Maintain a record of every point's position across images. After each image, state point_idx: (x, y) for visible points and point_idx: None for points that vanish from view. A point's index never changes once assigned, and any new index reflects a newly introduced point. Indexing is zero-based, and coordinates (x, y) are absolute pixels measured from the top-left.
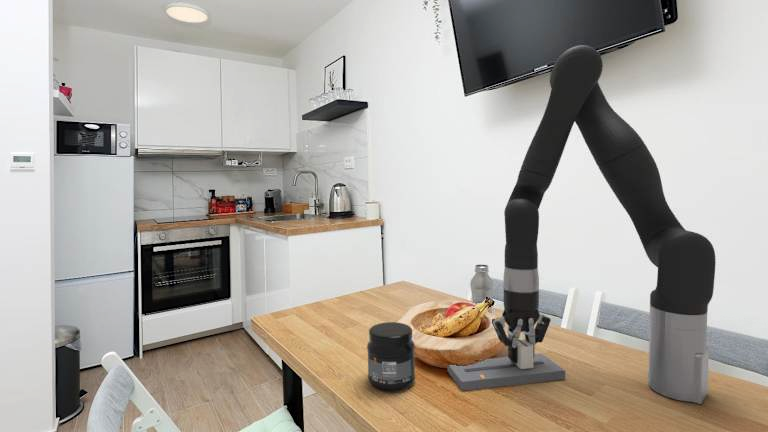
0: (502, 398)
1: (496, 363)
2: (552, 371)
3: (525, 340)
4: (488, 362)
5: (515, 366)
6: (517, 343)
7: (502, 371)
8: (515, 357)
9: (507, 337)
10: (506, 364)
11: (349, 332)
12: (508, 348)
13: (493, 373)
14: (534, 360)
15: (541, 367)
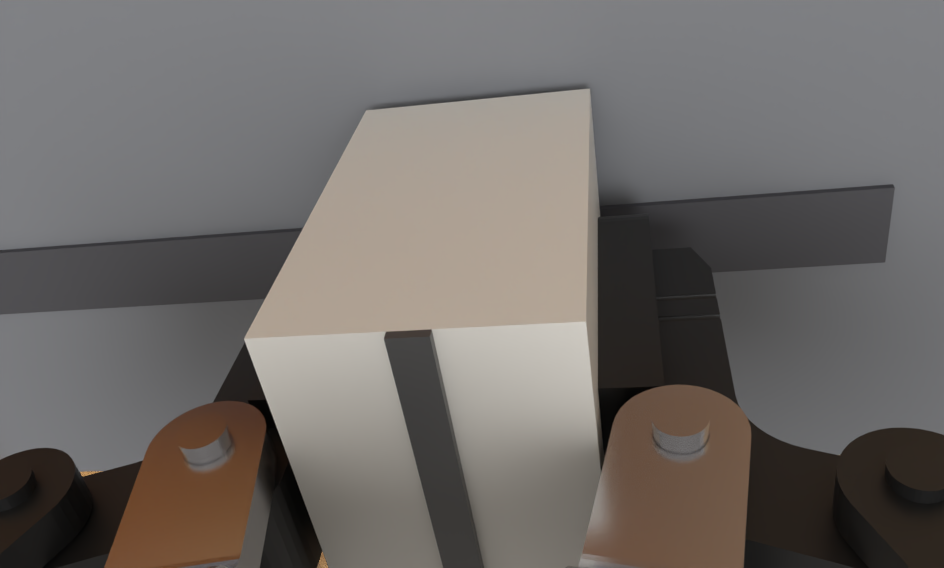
0: None
1: (144, 168)
2: (826, 449)
3: (596, 473)
4: (26, 123)
5: None
6: (353, 556)
7: (197, 369)
8: None
9: (125, 519)
10: (286, 213)
11: None
12: (225, 400)
13: (86, 392)
14: (794, 141)
15: (754, 347)
